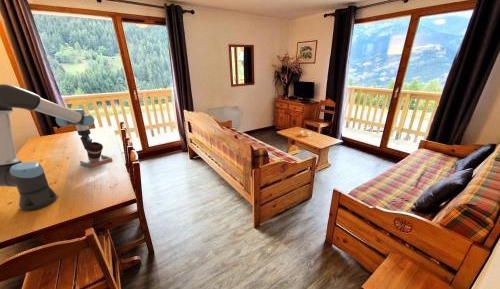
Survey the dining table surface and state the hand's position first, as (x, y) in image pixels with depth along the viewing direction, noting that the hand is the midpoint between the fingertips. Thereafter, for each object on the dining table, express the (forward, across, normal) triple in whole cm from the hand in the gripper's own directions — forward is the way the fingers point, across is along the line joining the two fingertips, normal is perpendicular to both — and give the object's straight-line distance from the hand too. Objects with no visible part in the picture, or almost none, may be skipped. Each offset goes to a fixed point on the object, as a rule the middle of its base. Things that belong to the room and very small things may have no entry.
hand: (91, 158), depth 166 cm
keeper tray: (+2, -8, 0) cm, 8 cm away
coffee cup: (0, -4, 0) cm, 4 cm away
